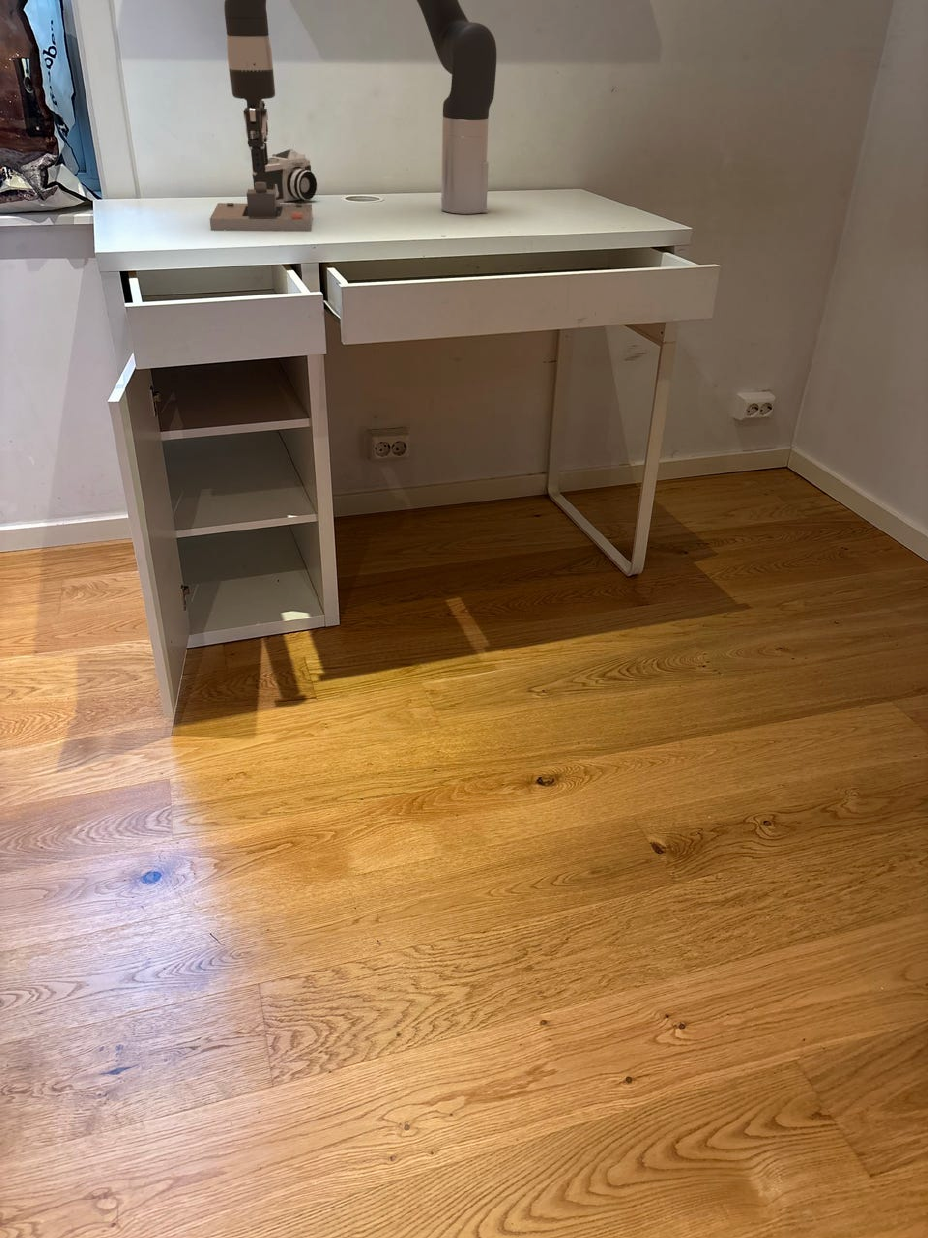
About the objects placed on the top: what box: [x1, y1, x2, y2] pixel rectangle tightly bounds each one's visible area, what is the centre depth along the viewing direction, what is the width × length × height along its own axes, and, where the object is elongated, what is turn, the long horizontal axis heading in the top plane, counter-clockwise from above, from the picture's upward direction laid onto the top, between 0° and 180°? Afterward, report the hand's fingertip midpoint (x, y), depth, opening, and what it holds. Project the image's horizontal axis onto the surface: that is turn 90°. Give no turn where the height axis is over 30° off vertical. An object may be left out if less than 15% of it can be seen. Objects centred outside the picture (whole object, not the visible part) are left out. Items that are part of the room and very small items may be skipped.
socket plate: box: [209, 202, 314, 233], centre depth 176 cm, size 18×15×3 cm
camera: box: [251, 148, 318, 204], centre depth 196 cm, size 16×9×10 cm, turn 144°
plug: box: [246, 182, 278, 217], centre depth 175 cm, size 5×4×8 cm
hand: (261, 168), depth 172 cm, fingers open, 8 cm apart
